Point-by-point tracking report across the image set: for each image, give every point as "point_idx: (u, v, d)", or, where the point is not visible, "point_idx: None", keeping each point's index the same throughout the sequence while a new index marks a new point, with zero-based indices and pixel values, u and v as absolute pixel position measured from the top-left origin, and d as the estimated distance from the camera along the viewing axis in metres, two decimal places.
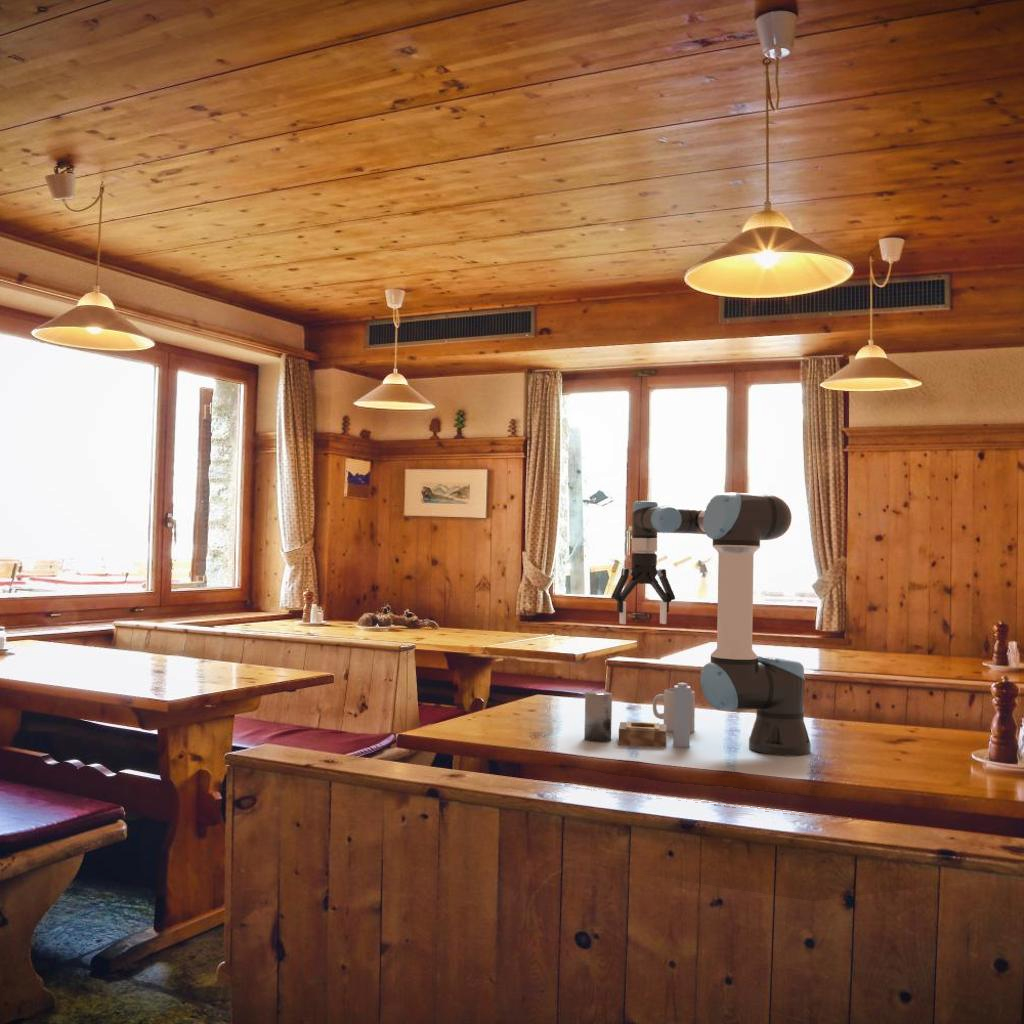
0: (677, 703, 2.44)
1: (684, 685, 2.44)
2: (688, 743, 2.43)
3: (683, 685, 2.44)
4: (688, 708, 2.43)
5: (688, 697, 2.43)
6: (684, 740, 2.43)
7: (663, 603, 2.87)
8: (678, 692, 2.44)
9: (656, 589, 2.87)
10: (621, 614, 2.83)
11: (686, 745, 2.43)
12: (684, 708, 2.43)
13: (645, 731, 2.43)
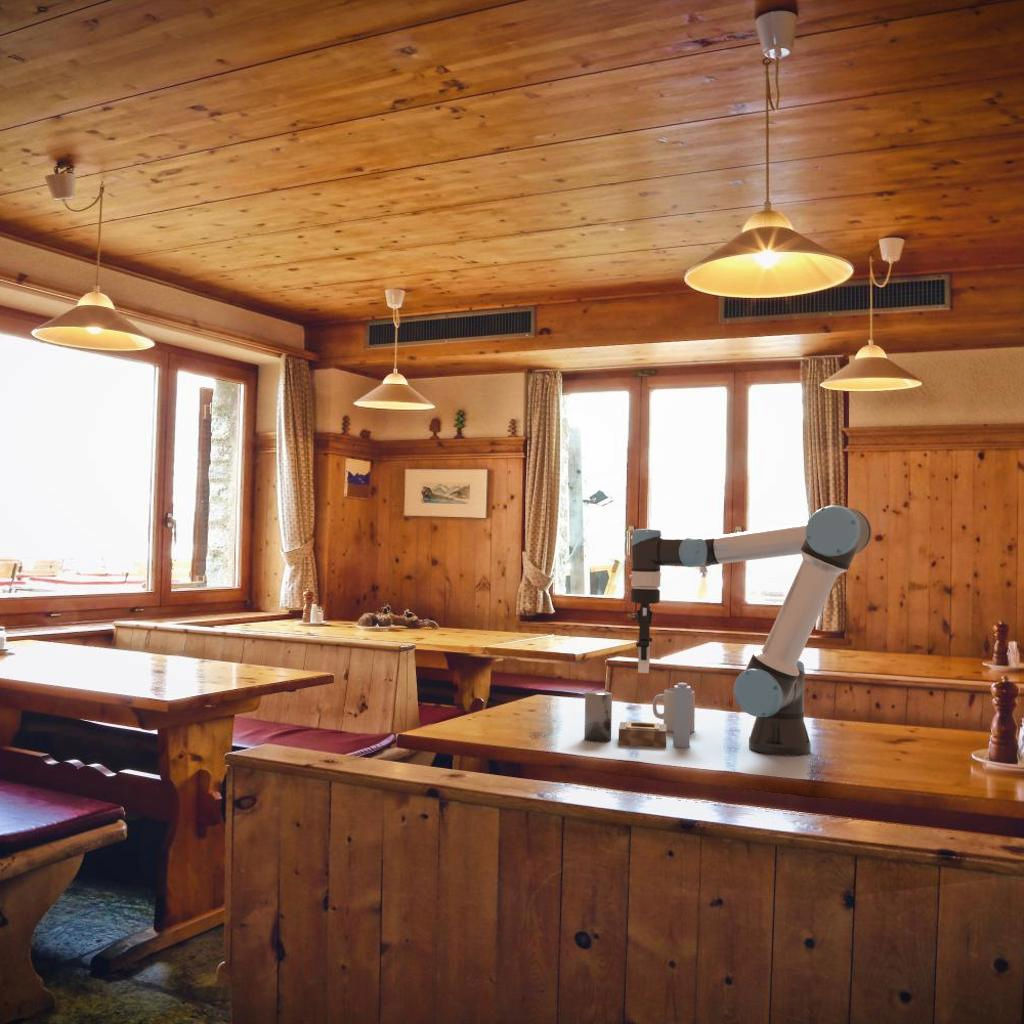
0: (677, 703, 2.44)
1: (684, 685, 2.44)
2: (688, 743, 2.43)
3: (683, 685, 2.44)
4: (688, 708, 2.43)
5: (688, 697, 2.43)
6: (684, 740, 2.43)
7: None
8: (678, 692, 2.44)
9: None
10: (643, 662, 2.42)
11: (686, 745, 2.43)
12: (684, 708, 2.43)
13: (645, 731, 2.43)
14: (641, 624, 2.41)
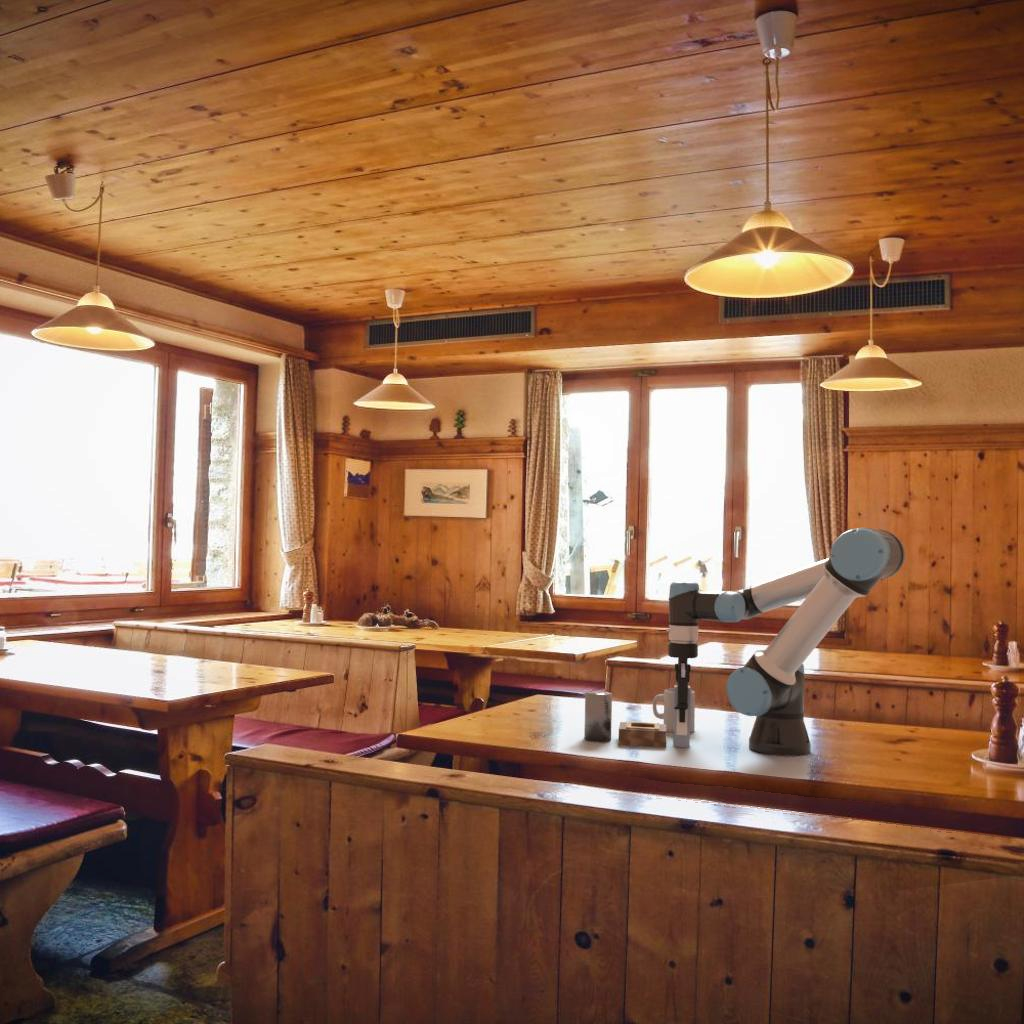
0: (677, 703, 2.44)
1: None
2: (688, 743, 2.43)
3: None
4: (688, 708, 2.43)
5: (688, 697, 2.43)
6: (684, 740, 2.43)
7: None
8: None
9: None
10: (681, 724, 2.43)
11: (686, 745, 2.43)
12: None
13: (645, 731, 2.43)
14: (680, 687, 2.40)
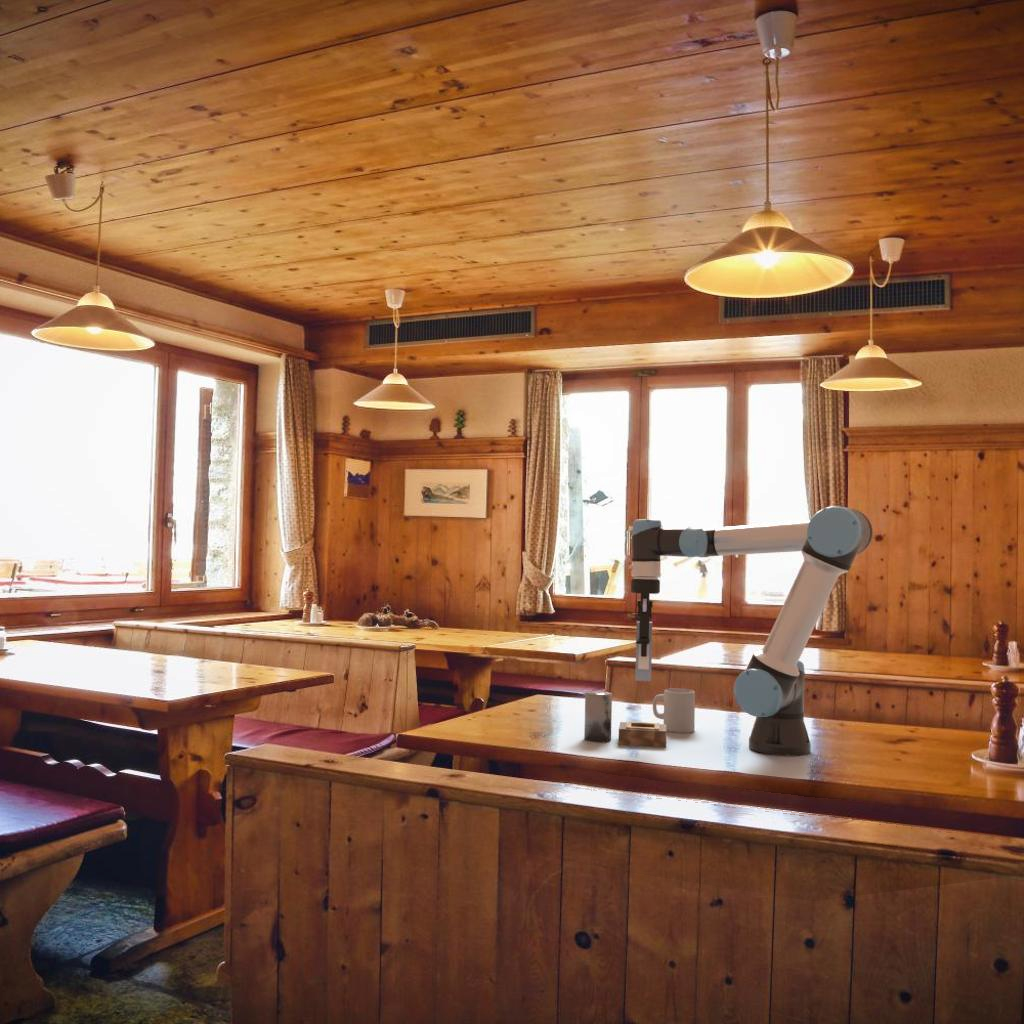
0: None
1: None
2: (650, 677, 2.46)
3: None
4: (650, 643, 2.47)
5: (650, 632, 2.47)
6: (645, 674, 2.47)
7: None
8: None
9: None
10: (643, 658, 2.46)
11: (648, 679, 2.46)
12: None
13: (645, 731, 2.43)
14: (641, 621, 2.43)
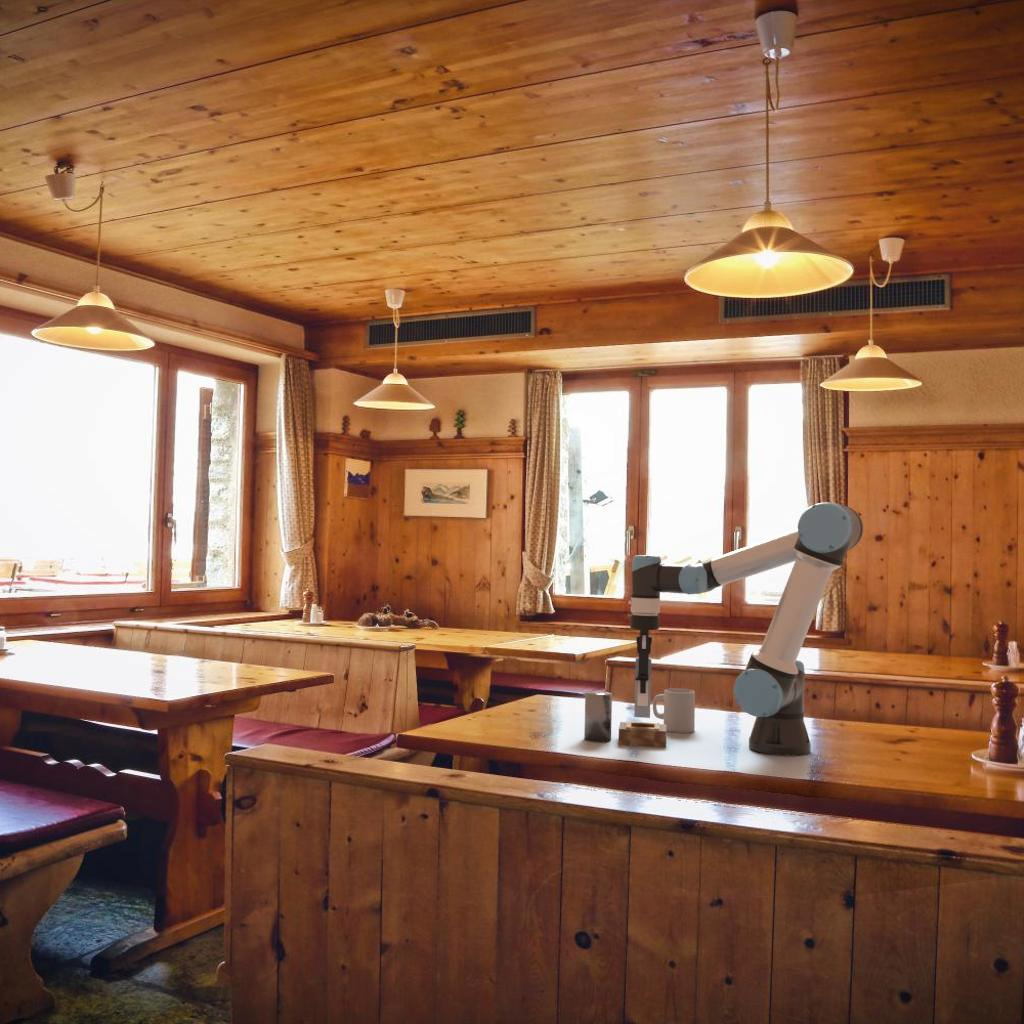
0: None
1: None
2: (648, 714, 2.46)
3: None
4: (649, 679, 2.46)
5: (649, 668, 2.46)
6: (644, 711, 2.46)
7: None
8: None
9: None
10: (642, 695, 2.46)
11: (647, 716, 2.46)
12: None
13: (645, 731, 2.43)
14: (640, 658, 2.43)
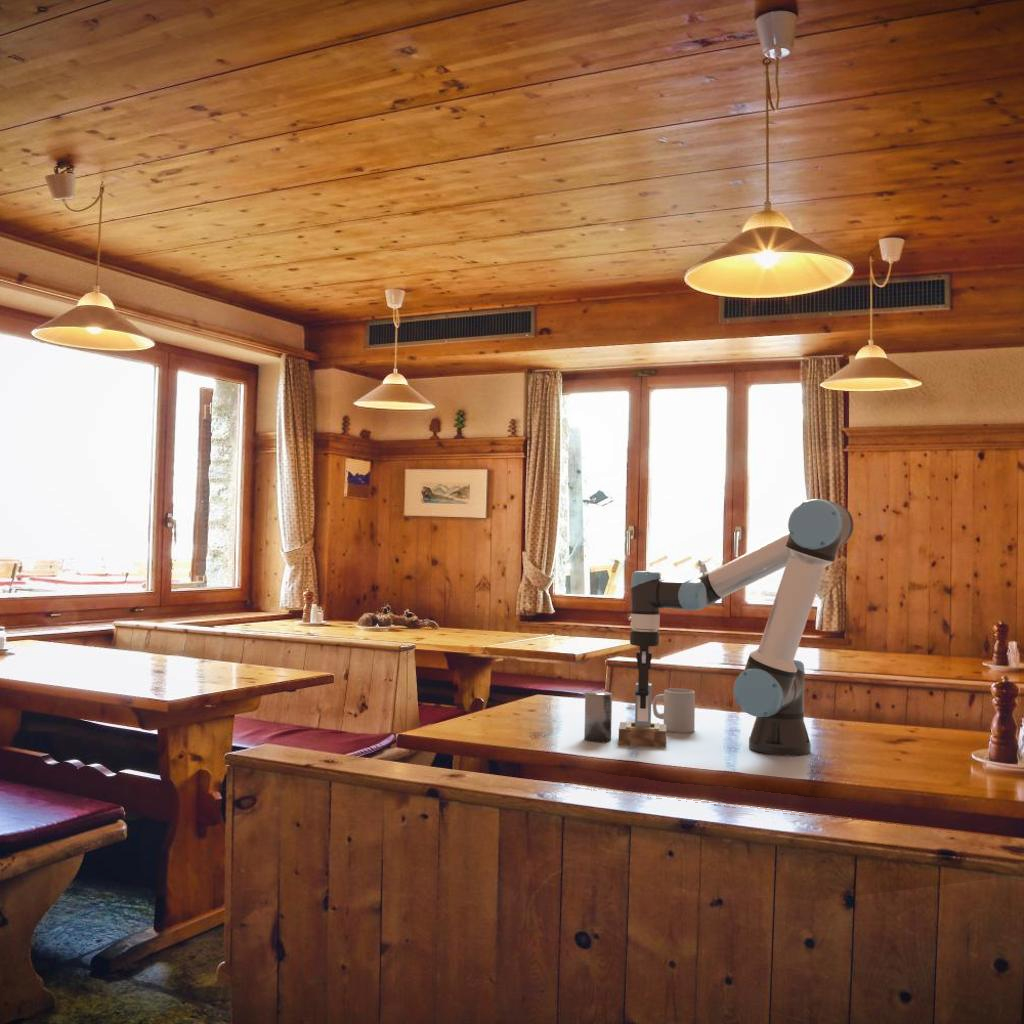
0: None
1: None
2: None
3: None
4: (649, 705, 2.46)
5: (649, 694, 2.46)
6: None
7: None
8: None
9: None
10: (642, 710, 2.44)
11: None
12: None
13: (645, 731, 2.43)
14: (640, 672, 2.42)
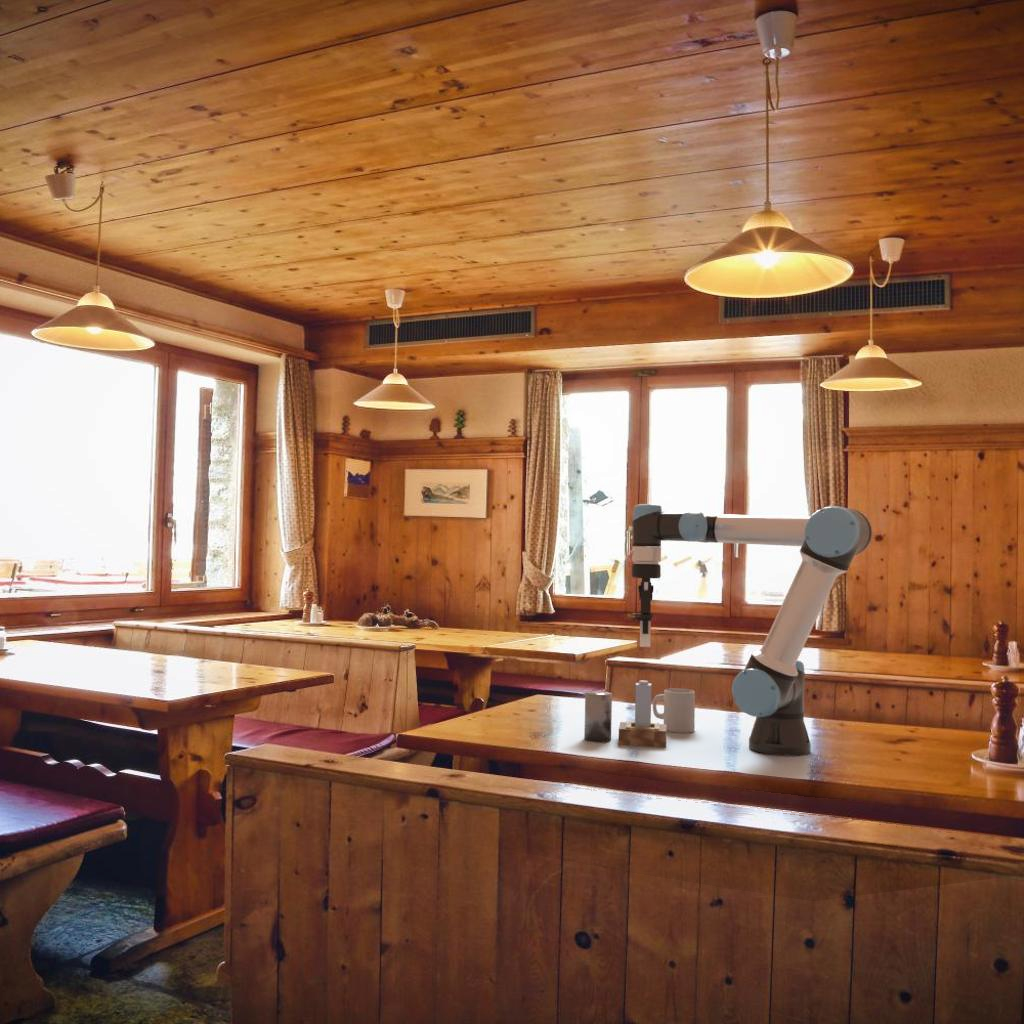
0: (638, 701, 2.46)
1: (645, 683, 2.47)
2: None
3: (644, 683, 2.47)
4: (649, 705, 2.46)
5: (649, 694, 2.46)
6: None
7: None
8: (639, 689, 2.47)
9: None
10: (644, 635, 2.43)
11: None
12: (645, 706, 2.46)
13: (645, 731, 2.43)
14: (643, 598, 2.42)
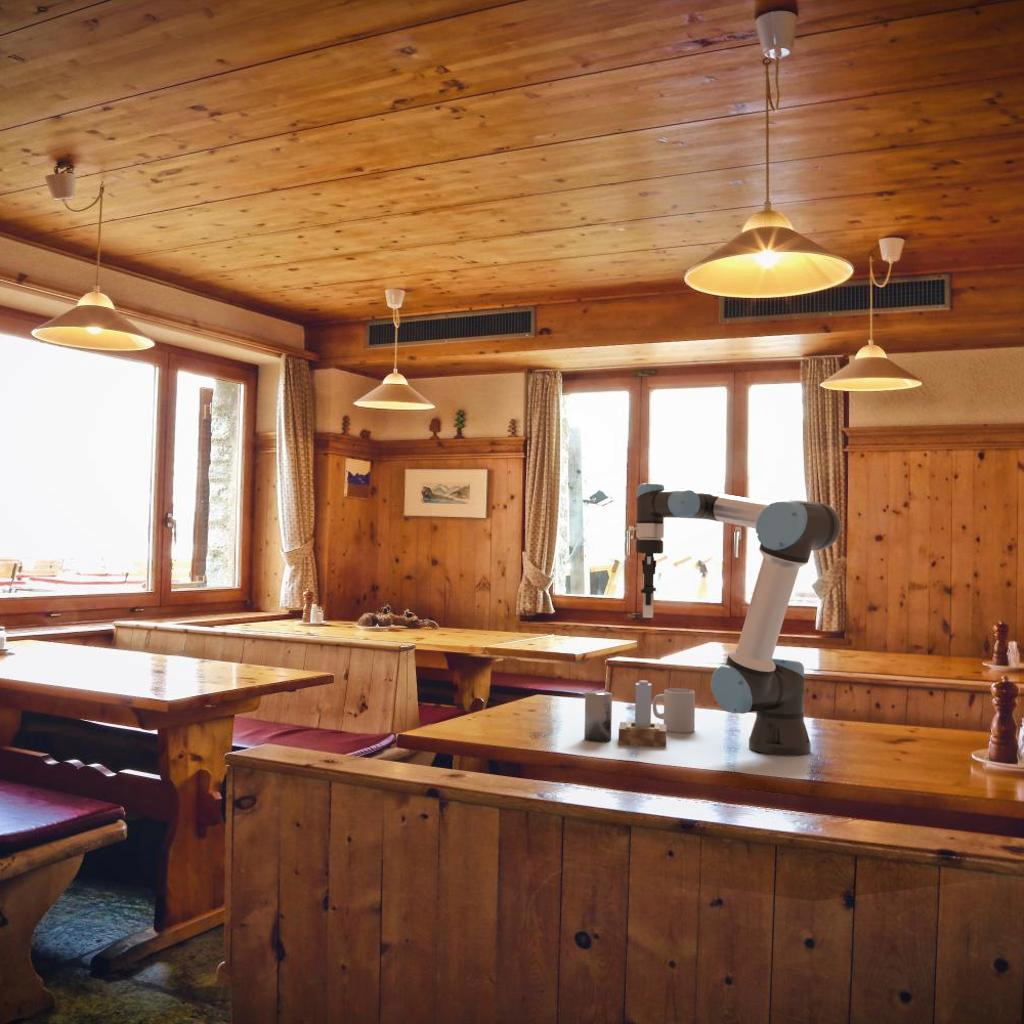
0: (638, 701, 2.46)
1: (645, 683, 2.47)
2: None
3: (644, 683, 2.47)
4: (649, 705, 2.46)
5: (649, 694, 2.46)
6: None
7: None
8: (639, 689, 2.47)
9: None
10: (647, 607, 2.57)
11: None
12: (645, 706, 2.46)
13: (645, 731, 2.43)
14: (646, 571, 2.57)
